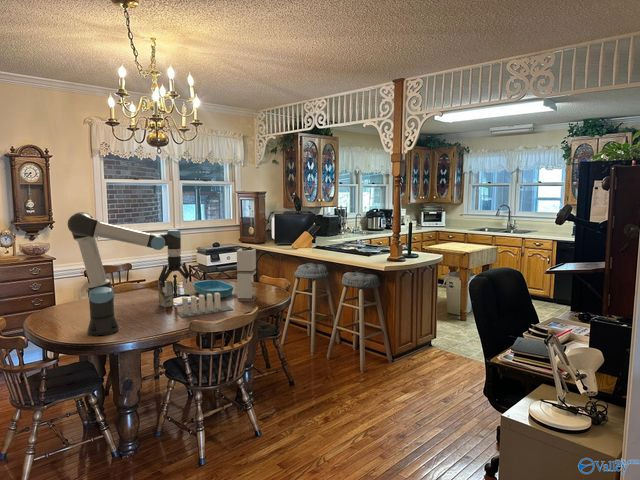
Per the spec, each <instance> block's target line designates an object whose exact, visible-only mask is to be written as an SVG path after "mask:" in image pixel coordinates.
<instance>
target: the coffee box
mask: <svg viewBox="0 0 640 480" xmlns="http://www.w3.org/2000/svg"><path fill="white" fill-rule="evenodd" d="M165 282H166V284H167V293H164V292H163V287H162V282H161V281H158V280H157V291H158V305H159V306H160V307H164V308H169V307H173V305H175V303H174V286H173V285H174V283H173V281H170V280H167V279H166V281H165Z"/></svg>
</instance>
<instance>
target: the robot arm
mask: <svg viewBox="0 0 640 480" xmlns="http://www.w3.org/2000/svg"><path fill="white" fill-rule="evenodd" d="M67 228H68V230H69V232H70V233H71V235H72V238H73V240H75V241H76V242H77V244H78V248H79V250H80V254H81V258H82V261H83V264H84V267H85V272H86V275H87V277H88V281H89V283H88V286H87V288H88V302H89V303H88V305H89V319H90V321H89V324H88V327H87V331H86V332H87V335H88V334H89V335H88V336H90V335H94V336H93V337H99V336H98V335H104V336H108V335H107V334H109V335H112V334H111V333H113V334H114V332H115V333H117V332H119V331H120V325H119V323H118V321H117V319H116V316H115V315H116V314H115V304H114V303H115V291H114V288H113V286H112V282H111V280H110V279H108V278H107V275H106V272H105V269H104V265H103V261H102V259H101V258H102V257H101V254H100V251H99V248H98V244H97V240H96V237H99V238H104V239H108V240H112V241H113V240H114V241H119V242H122V243H127V244H132V245H136V246H141V247H146V248H149V249H150V248H151V249H153V250H155V251H160V250H162V249H164V248H165V247H167V264H163V266H162V269H161V272H160V275H159V277H158V279H157V282H158V281H161V282H162V287H163V292H164V293H167V284H166V282H165V281H166V280H167V279H168V278H169V276H170V275H171V274H172V273H173V272H179V273H180V274H181V276H182V289H183V290H186V289H187V283H188V279H189V278H190V277H191V274H190V271H189V270H188V267H187V266H186V262H183V261H182V256H181V255H182V244H181V243H182V241H181V240H182V236H181V231H180V230H179V229H168V230H167V231H166V233H148V232H143V231H140V230H134V229H130V228H126V227H121V226H118V225H113V224H109V223H105V222H101V221H100V220H99V219H95V218H94V217H93V216H92V215H91V214H90V213H88V212H83V211H82V212H76V213H74V214H73V215H70V217H69V218H68V220H67Z"/></svg>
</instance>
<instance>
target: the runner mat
mask: <svg viewBox="0 0 640 480" xmlns="http://www.w3.org/2000/svg"><path fill="white" fill-rule="evenodd" d="M233 310H234V309H233V308H232V307H231V306H229V305H227V304H224V305H222V304H221V309H220V310H217V309H215V306H213V311H209V310H208V309H207V307H205V312H201V311H199V308H197V313H194V314H193V313H192V312H191V309H188V314H187V315H184V314H183V310H182V311H177V312H176V313H177V315H178V316H179V317H180V319H183V318H190V317H197V316H203V315H209V314H215V313H216V314H217V313H222V312H229V311H233Z"/></svg>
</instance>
